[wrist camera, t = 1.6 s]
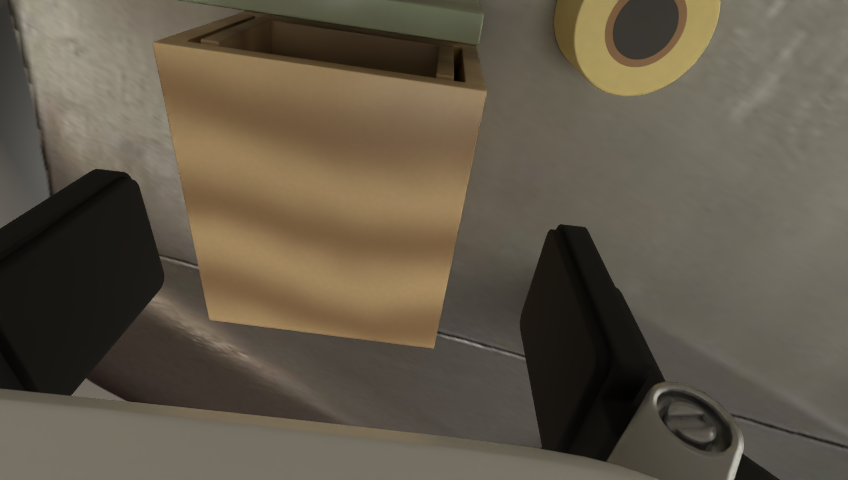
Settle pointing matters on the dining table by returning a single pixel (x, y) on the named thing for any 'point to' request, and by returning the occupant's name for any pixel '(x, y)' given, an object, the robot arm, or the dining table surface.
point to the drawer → (357, 32)
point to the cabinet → (321, 183)
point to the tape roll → (634, 40)
